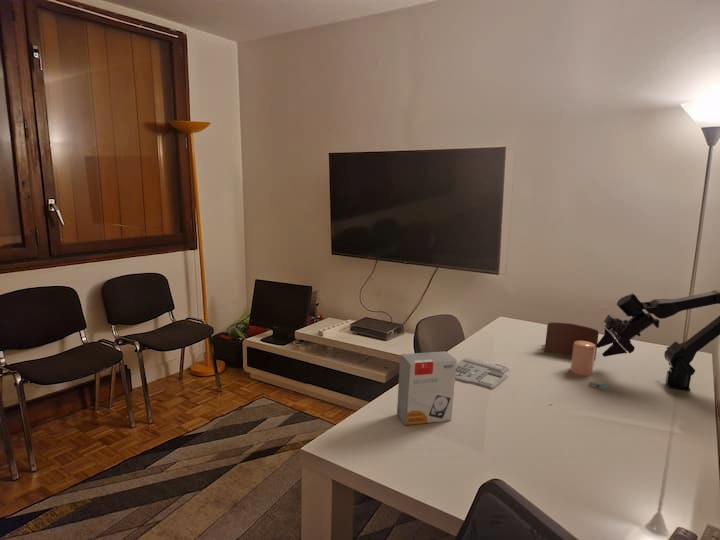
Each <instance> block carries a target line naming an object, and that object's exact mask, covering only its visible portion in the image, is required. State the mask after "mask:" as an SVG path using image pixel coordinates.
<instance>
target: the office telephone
mask: <svg viewBox="0 0 720 540" xmlns="http://www.w3.org/2000/svg"><path fill="white" fill-rule="evenodd" d="M508 371H510V370H509V367H506V365H503V364H498V363H495V362H490V361H487V360H483V359H480V358H475V357H472V356H466V357H465V358H464V359H462V360H461V361H459V362H456V373H455V381H460V382H462V383H465V384H473V385H475V386H476V385H477V386H479V387H480V386H481V387H483V388H487V389H489V390H495V389H496V388H498V386H500V385H501V384H502V383H503V382H504V381H505V380H506V379H508V374H506V373H507V372H508ZM487 375H491V376H495V377H499V379H498V380H496V381H495V382H494V383H489V382H486V381H482V379H484V378H485V377H486V376H487Z"/></svg>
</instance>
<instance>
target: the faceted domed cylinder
mask: <svg viewBox="0 0 720 540" xmlns="http://www.w3.org/2000/svg"><path fill="white" fill-rule="evenodd" d="M595 350H596V345H595V344H593V343H591V342H587V341H575V342H574V344H573V352H572V357H571V362H570V372H571V373H573V374H575V375H579V376H586V377H588V376H591V375H593V373H594V364H595V361H594V358H595ZM595 359H596V358H595Z"/></svg>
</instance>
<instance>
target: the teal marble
mask: <svg viewBox="0 0 720 540" xmlns="http://www.w3.org/2000/svg"><path fill="white" fill-rule="evenodd" d="M597 388H598V389H601V390H609V386H608V385H607V384H606V383H605V382H601V383H599V384H598V387H597Z"/></svg>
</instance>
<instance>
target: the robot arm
mask: <svg viewBox="0 0 720 540" xmlns="http://www.w3.org/2000/svg"><path fill="white" fill-rule="evenodd" d="M718 304H719V305H720V290H717V289H716V290H714V289H713V290H711V291H708V292H705V293H704V292H703V293H698V294H693V295H689V296H684V297H680V298H657V299H655V298H654V299H652V300H651V301H643V302H642V301H640V300H639V299H638V297H637V295H635V293H631V294H628V295H625V296H622V297H621V298H619V299H618V300H617V302H616V306H617V307H618V308H619V309H620V310H621V311H622V312H623V314H624V315H626V316H627V317H631V318H630V319H628V320H627V319H623V320H622V319H620V318H618V317H615V316H612V315H610V314H608V315H607V316H606V317H605V319H604V320H603V322H604V323H605V325H604V328H603V329H604V334H603V336H602V337H601V339H600V340H598V343H597V345H596V347H597V349H599V348H603V347H605V346H608V345H610V346H609V347H608V348H607V349H606V350H604V351H603V352H602V354H601V356H603V357H604V358H606V357H611V356H616V355H622V354H623V355H624V354H628V353H629V354H632V353H633V352H634V351H635V347H636V346H634V345H633V344H632V341H631V340H632V339H634V338H635V337H636V336H637V337H641V336H642V335H641V333H642V332H644V331H645V330H647V329H648V328H649V327H651V326H652V325H653V326H654V327H655V328H656V329H659V328H660V320H659V319H667V318H670V317H672V316H673V317H674V316H675V315H676V314H678V313H680V312H683V311H687V310H693V309H697V308H702V307H707V306H714V305H718ZM645 311H646V312H647V313H645ZM653 316H654V317H653ZM719 336H720V314H719V315H718V317H716V318H715V319H714V320H712V321H710V323H708V324H706V326H704V327H703V328H702V329H700V330H699V331H698V332H697V333H695V334H694V335H692V336H691V337H690V338H689V339H687V340H686V341H684V342H681V343H679V342H678V341H674V342H673V343H671V345H669V346H668V347H666V350H665V351H664V354H663V355H664V359H665V360H666V362H667V363H668V366H669V370H667V371H666V377H665V382H666V384H667V386H668V387H669V388H671V389H678V390H684V391H689V392H690V391H691V388H690V383H691V380H692V379H691V378H692V376H694V373H696V369H695V368H694V367H693V366H692V365H691V362H693V360H694V358H695V356H696V354H697V353H698V352H699V351H700V350H702V349H704V347H705V346H707V345H709V344H710V343H711V342H713V340H715V339H716V338H718V337H719Z"/></svg>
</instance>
